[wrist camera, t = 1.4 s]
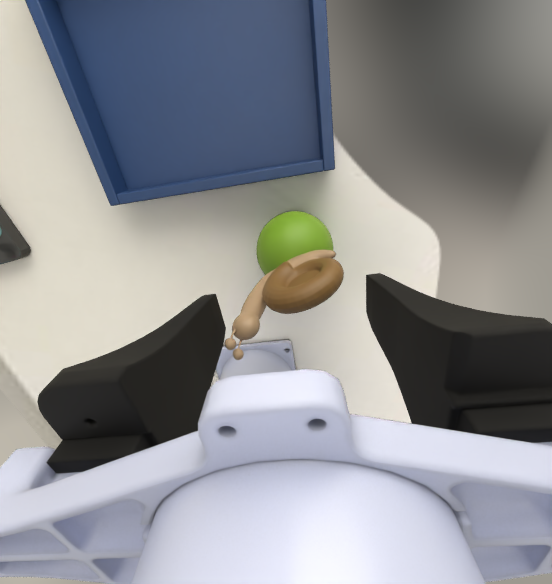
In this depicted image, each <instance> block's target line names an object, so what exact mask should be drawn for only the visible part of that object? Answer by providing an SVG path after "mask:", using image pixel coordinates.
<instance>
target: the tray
mask: <svg viewBox="0 0 552 584" xmlns="http://www.w3.org/2000/svg"><path fill="white" fill-rule="evenodd" d="M25 1H26V3H27V6H28V8H29V11H30V13H31V15H32V18H33V20H34V23H35V25H36V27H37V30H38V32H39V35H40V37H41V40H42V42H43V44H44V47H45V49H46V52H47V54H48V56H49V59H50V61H51V64H52V66H53V68H54V71H55V73H56V76H57V78H58V80H59V83H60V85H61V88H62V90H63V92H64V95H65V97H66V100H67V102H68V104H69V107H70V109H71V112H72V114H73V116H74V119H75V121H76V124H77V126H78V128H79V131H80V133H81V136H82V138H83V140H84V143H85V145H86V148H87V150H88V152H89V155H90V157H91V160H92V162H93V164H94V167H95V169H96V172H97V174H98V176H99V179H100V181H101V184H102V186H103V188H104V191H105V193H106V196H107V198H108V200H109V203H110V205H111V206H114V205H120V204H126V203H132V202H139V201H145V200H151V199H157V198H163V197H169V196H175V195H181V194H187V193H194V192H200V191H206V190H212V189H218V188H224V187H230V186H236V185H242V184H248V183H255V182H261V181H267V180H273V179H279V178H285V177H291V176H297V175H303V174H309V173H316V172H322V171H328V170H334V169H335V160H334V142H333V123H332V104H331V85H330V68H329V48H328V30H327V13H326V12H327V11H326V0H25Z"/></svg>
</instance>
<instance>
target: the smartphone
mask: <svg viewBox="0 0 552 584" xmlns="http://www.w3.org/2000/svg"><path fill="white" fill-rule="evenodd" d="M29 254H30V247H29V245H28V244H27V243H26V241H25V240H24V238H23V237H22V236H21V234H20V233H19V231H18V230H17V229H16V227H15V226H14V224H13V223H12V222H11V220H10V219H9V217H8V216H7V215H6V213H5V212H4V210H3V209H2V208H1V206H0V264H4V263H7V262H11V261H14V260H18V259H20V258H23V257H25V256H27V255H29Z"/></svg>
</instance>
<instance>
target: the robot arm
mask: <svg viewBox="0 0 552 584" xmlns="http://www.w3.org/2000/svg"><path fill="white" fill-rule="evenodd" d="M366 312H367V316H368V319H369V322H370V325H371V328H372V330H373V332H374V334H375V336H376V338H377V340H378V342H379V344H380V346H381V348H382V350H383V352H384V354H385V356H386V358H387V359H388V361H389V363H390V365H391V367H392V370H393V372H394V374H395V377H396V380H397V382H398V385H399V388H400V390H401V393H402V396H403V399H404V401H405V404H406V407H407V410H408V413H409V416H410V419H411V422H412V424H411V423H405V422H398V421H392V420H386V419H380V418H373V417H367V416H361V415H355V414H350V413H349V411H348V406H347V402H346V398H345V393H344V390H343V388H342V386H341V383H340V381H339V379H337V378H336V377H334V376H332V375H331V374H329V373H327V372H326V371H320V370H310V369H303V370H296V368H295V362H294V355H293V349H292V343H291V342H290V341H289V340H281V341H272V342H263V343H253V344H244V345H240V348H239V349H241V350H242V351H243V353H244V355H243V358H242V359H240V360H236V359H234V357H233V355H232V352H233V350H235V349H237V348H238V345H236V347H235V348H234V349H233V350H228V349H227V348H226V347H223V343H224V337H225V330H226V327H225V324H224V321H223V317H222V314H221V310H220V307H219V304H218V300H217V297H216V294H211V295H204V296H202V297H200V298H199V299H197V300H196V301H195V302H193V303H192V304H191V305H189V306H188V307H187V308H185V309H184V310H183V311H181V312H180V313H179V314H178V315H176V316H175V317H173V318H172V319H171V320H169V321H168V322H166V323H165V324H164V325H162V326H161V327H159V328H158V329H156V330H154V331H153V332H151V333H149V334H148V335H146V336H144V337H142V338H140V339H138V340H136V341H134V342H132V343H130V344H128V345H126V346H124V347H122V348H120V349H118V350H115V351H113V352H111V353H108V354H106V355H103V356H100V357H98V358H95V359H92V360H89V361H86V362H83V363H80V364H77V365H74V366H71V367H68V368H64V369H63V370H61V372H60V373H59V374H58V375H57V376H56V377H55V378H54V379H53V380H52V381H51V382H50V383H49V384H48V385H47V386H46V387H45V388H44V389H43V390H42V392H41V393H40V394H39V397H38V406H39V410H40V412H41V413H42V415H43V417H44V418H45V419H46V420H47V422H48V423H49V424H50V425H51V427H52V428H53V429H54V430H55V431H56V433H57V434H58V435H59V436H60V438H61V439H62V442H61V443H60V445H59V446H58V447H57V449H56V450H55V449H54V448H51V447H45V446H43V447H31V448H19V449H16V450H15V451H14V452H13V453H12V454H11V455H10V457H9V458H8V459H7V460H6V462H4V464H3V465H2V466H1V467H0V577H41V578H59V579H69V580H80V581H89V582H99V583H108V584H486V583H485V582H492V581H499V580H506V579H512V578H520V577H526V576H534V575H540V574H548V573H552V324H551V323H550V322H548V321H547V320H545V319H542V318H533V317H523V316H512V315H504V314H498V313H491V312H486V311H480V310H475V309H471V308H467V307H463V306H458V305H455V304H451V303H448V302H445V301H442V300H439V299H436V298H433V297H430V296H428V295H425V294H423V293H420V292H418V291H416V290H414V289H411V288H409V287H407V286H405V285H403V284H401V283H399V282H397V281H395V280H393V279H391V278H389V277H387V276H385V275H383V274H380V273H378V274H370V275H366ZM286 348H288V349H289V350H285V349H286ZM215 370H216V371H217V374H218V377H219V381H216V382H215V383H214V384H213V386H212V387H211V388H210V386H211V382H212V379H213V376H214V373H215Z"/></svg>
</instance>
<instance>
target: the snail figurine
mask: <svg viewBox="0 0 552 584" xmlns="http://www.w3.org/2000/svg"><path fill="white" fill-rule="evenodd" d="M335 255H336V253H335V252H334V251H333V242H332V238H331V235H330V233H329V231H328V229H327V228H326V226H325V225H324V224H323V223H322V222H321V221H320V220H319V219H317V218H316V217H314V216H313V215H310V214H308V213H305V212H299V211H291V212H286V213H282V214H280V215H278V216H276V217H274V218H273V219H272V220H270V221H269V222H268V223H267V224H266V225H265V227H264V228H263V230H262V231H261V233H260V235H259V238H258V242H257V259H258V263H259V265H260V268H261V269H262V271H263V273H264V274H265V276H264V277H263V278H262V279H261V280H260V281H259V282H258V283H257V285H256V286H255V287H254V288H253V290H252V291H251V292H250V294H249V295H248V297H247V299H246V301H245V303H244V305H243V307H242V310H241V313H240V315H239V316H238V317H237V318H236V319H235V320H234V322H233V326H232V331H233V332H232V335H231V338H229V339H227V340H226V341H225V347H226V348H227V349H228V350H233V349H234V348H235V347H236V341H235V340H234V339H232V337H233V334H234V335H235V337H237V338H238V339H240V342H239V345H238V348H237V349H235V350H233V352H232V355H233V357H234V359H236V360H240V359H242V358H243V355H244V353H243V351H242V350H241V349H239V348H240V344H241V342H242V340H248V339H251V338H252V337H254V336H255V335H256V334H257V332H258V331H259V327H260V323H259V319H260V318H261V316H262V314H263V312H264V310H265V308H266V305H267V306H268V307H269V308H271V309H272V310H273V311H276V312H279V313H284V314H291V313H298V312H302V311H305V310H308V309H311V308H313V307H315V306H317V305H319V304H321V303H322V302H324V301H325V300H327V299H328V298H329V297H331V296H332V295H333V294H334V293H335V292H336V291H337V289H338V288H339V287H340V285H341V283H342V280H343V275H344V272H343V268H342V266H341V264H340V263H339V262H338V261H336V260H334V259H333V258H334V257H335Z"/></svg>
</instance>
